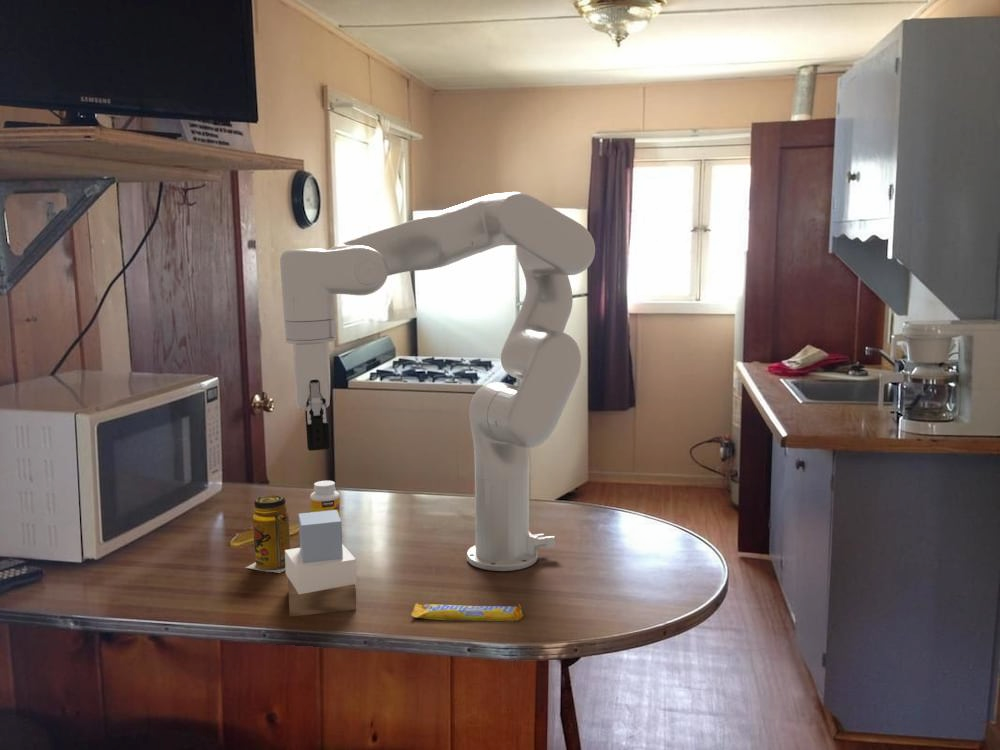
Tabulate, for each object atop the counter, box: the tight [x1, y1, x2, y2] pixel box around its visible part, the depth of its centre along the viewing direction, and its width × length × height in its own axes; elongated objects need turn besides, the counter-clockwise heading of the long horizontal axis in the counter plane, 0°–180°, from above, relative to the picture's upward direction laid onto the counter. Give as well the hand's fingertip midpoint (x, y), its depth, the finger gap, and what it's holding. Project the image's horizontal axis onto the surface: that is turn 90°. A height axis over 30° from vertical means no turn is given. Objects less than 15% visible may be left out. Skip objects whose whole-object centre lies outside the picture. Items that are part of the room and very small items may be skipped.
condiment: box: [244, 494, 291, 574], centre depth 150 cm, size 7×8×12 cm
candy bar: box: [410, 602, 524, 622], centre depth 129 cm, size 17×4×2 cm, turn 87°
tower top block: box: [285, 543, 358, 594], centre depth 134 cm, size 9×9×4 cm
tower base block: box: [287, 577, 357, 617], centre depth 135 cm, size 10×10×4 cm
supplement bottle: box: [309, 480, 341, 518], centre depth 165 cm, size 6×6×10 cm
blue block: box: [298, 510, 343, 563], centre depth 134 cm, size 6×6×6 cm
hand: (317, 441), depth 132 cm, fingers open, 9 cm apart
